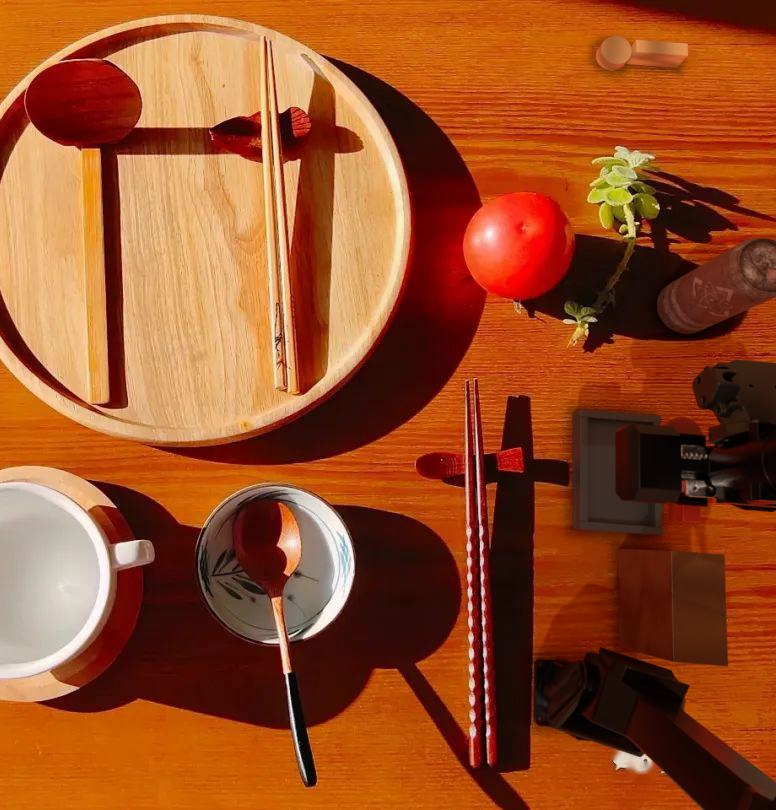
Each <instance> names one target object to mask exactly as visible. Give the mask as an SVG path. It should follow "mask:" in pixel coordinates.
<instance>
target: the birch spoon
mask: <svg viewBox="0 0 776 810" xmlns="http://www.w3.org/2000/svg"><path fill="white" fill-rule="evenodd" d="M688 56H689V43H687V42H686V43H685V42H673V41H661V40H660V41H658V40H647V39H636V40H635V41H634V42H633V43H632V45H631V44H630V42H629V41H628V40H627V39H626V38H624V37H622V36H618V35H612V36H608V37H607V38H606V39H604V40H603V41H602V43H601V44H600V45H599V46H598V48H597V50H596V53H595V60H596V62H597V64H598V65H599V66H600V67H601V68H603V70H606V71H611V72H615V71H618V70H620V69H622V68H623V67H624V66H625V65H633V66H634V65H635V66H648V67H659V68H660V67H661V68H674V69H677V68H678V67H679V66H680V65H681V64H683V62H684V61H685V60H686V59H687V58H688Z"/></svg>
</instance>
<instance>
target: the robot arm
mask: <svg viewBox="0 0 776 810" xmlns="http://www.w3.org/2000/svg"><path fill="white" fill-rule="evenodd" d="M691 388H692V390H693V394H694V398H695V402H696V405H697V407H698V408H699V409H701V410H708V411H711V412H713V415H714V416H715V418H716V420H717V422H718V423H719V424H718V425H714V426H709V427H708V429H707V430H708V431H707V432H708V444H713V445H714V446H709V445H707V435H706V434H703V435H697V434H684V433H678V431H677V430H676V429H675V427H672V426H660V425H647V424H634V423H633V424H629V425H626V426H622V427H621V428H620V429H619V430H618V431H616V432H615V490H616V494H617V496H618V497H619V498H620V499H621V500H622V501H632V502H645V503H663V504H667V505H668V504H669V503H675V504H678V505H688V506H701V507H703V508H708V507H709V502H708V499H713V498H714V499H715V502H716V504H723V505H724V504H726V505H730V506H733V507H735V508H738V509H740V510H742V511H751V512H762V513H763V512H765V513H774V512H776V362H771V361H757V360H748V359H747V360H745V359H733V360H731V361H729V362H717V363H716V364H715V365H712V366H711V365H706V366H705V367H704V368H703V370H702V371H701V372H699V373H698V374H697V375H696V376H695V377H694V378H693V379H692V383H691ZM539 663H541V664H540V665H539ZM690 687H691V685H690V684H688V683H686V682H682V681H680V680H679V679H678V678H677V677H676V676H675V674H674V672H673V670H671V669H669V668H665V667H663V666H660V665H657V664H654V663H650V662H647V661H646V660H642V659H638V658H635V657H632V656H629V655H627V654H623V653H620V652H617V651H613V650H611V649H608V648H605V647H601V646H600V647H599V649H598V652H597V651H594V650H588V651H587V652H585V653H584V657H583V658H582V657H575V656H563V655H556V656H555V657H554V659H552V658H536V659H535V660H534V664H533V722H534V723H535V725H537V726H539V727H547V728H551V729H554V730H557V731H560V732H563V733H565V734H566V735H568V736H570V737H572V738H573V739H575V740H577V741H584V742H585V741H586V742H593V743H596V744H599V745H601V746H604V747H608V748H610V749H614V750H616V751H620V752H623V753H624V754H625V753H626V754H629V755H632V756H634V757H636V758H637V757H638V758H642V757H643V756H644V755H645V756H646V757H647V758H649V760H650V761H652V763H654V764H655V766H656V767H658V768H659V770H661V771H662V772H663V773H664V774H665V775H666V776H667V777H668V778H669V779H670V780H671V781H672V782H673V783H674V784H675V785H676V786H677V787H678V788H679V789H680V790H681V791H682V792H683V793H684V794H686V796H688V797H689V799H690V800H692V801H693V803H695V804H696V805H697V806H698V807H699V808H700V809H701V810H776V781H775V780H773V779H772V778H771V777H770V776H769V775H767V774H766V773H764V772H763V771H762V770H760V769H759V768H758V767H757V766H756V765H754V764H753V763H752V762H750V761H749V760H748V759H747V758H746V757H744V756H742V754H740V753H739V752H737V751H736V750H735V749H734V748H732V747H731V746H730V745H728V743H726V742H724V741H723V740H722V739H721V738H719V736H717V735H715V734H714V732H712V731H710V730H709V729H708V728H706V727H705V726H704V725H703V724H701V723H700V722H699V721H698V720H696V719H695V718H694V717H692V716H691V715H690V714H688V713H687V712H686V711H685V708H686V707H685V706H686V703H687V698H686V695H687V693H688V691H689V688H690ZM539 719H540V721H539Z"/></svg>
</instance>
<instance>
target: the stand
mask: <svg viewBox="0 0 776 810" xmlns="http://www.w3.org/2000/svg"><path fill="white" fill-rule="evenodd" d="M725 557H726V555H725V554H721V553H711V552H710V553H709V552H698V551H685V550H674V549H673V550H672V549H671V550H670V549H639V548H638V549H636V548H617V616H618V617H617V625H618V628H617V629H618V634H617V635H618V637H617V638H618V648H621V649H625V650H629V651H632V652H635V653H639V654H642V655H647V656H650V657H653V658H657V659H661V660H664V661H668V662H672V663H678V664H679V663H680V664H690V665H691V664H692V665H703V666H715V667H729V650H728V649H729V648H728V647H729V645H728V621H727V620H728V618H727V616H728V615H727V587H726V586H727V585H726V558H725Z"/></svg>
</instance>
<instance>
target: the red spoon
mask: <svg viewBox="0 0 776 810" xmlns="http://www.w3.org/2000/svg"><path fill="white" fill-rule="evenodd" d="M660 426H672V427H675V429H676V430H677V431H678V433H684V434H697V435H704V434H703V433H704V432H703V431H702V430H703V429H702V428H701V427H700V425H699V424H698V423H697V422H696V421H695V420H693V419H692V418H690V417H687V416H677V417H673V418H668V419H666V420H664V421H662V422H661V425H660ZM701 509H702V508H701V506H688V505H678V504H675V503H669V504H667V521H668V522H669V523H679V524H696V523H697V524H699V523H702V512H701V511H702V510H701Z"/></svg>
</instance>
